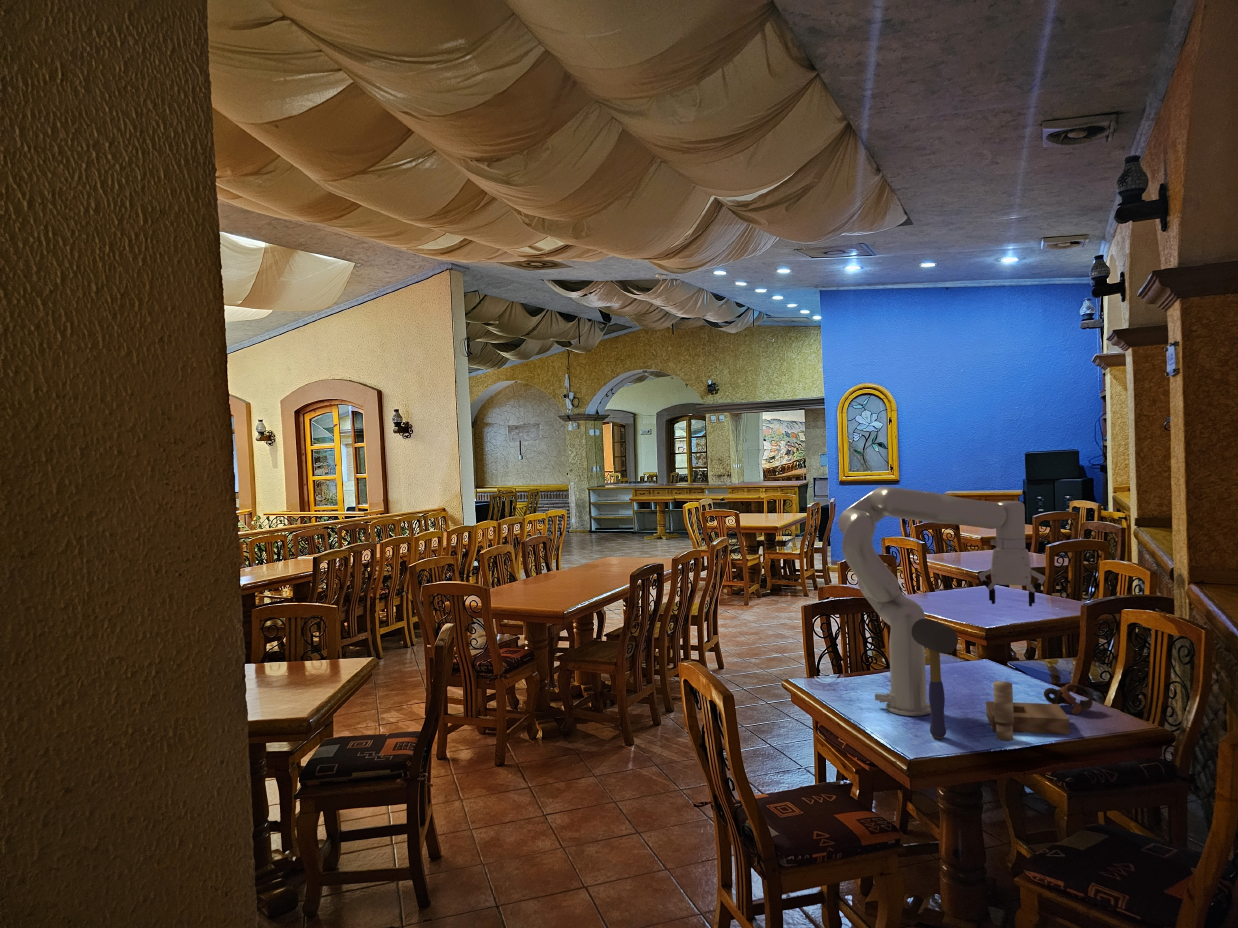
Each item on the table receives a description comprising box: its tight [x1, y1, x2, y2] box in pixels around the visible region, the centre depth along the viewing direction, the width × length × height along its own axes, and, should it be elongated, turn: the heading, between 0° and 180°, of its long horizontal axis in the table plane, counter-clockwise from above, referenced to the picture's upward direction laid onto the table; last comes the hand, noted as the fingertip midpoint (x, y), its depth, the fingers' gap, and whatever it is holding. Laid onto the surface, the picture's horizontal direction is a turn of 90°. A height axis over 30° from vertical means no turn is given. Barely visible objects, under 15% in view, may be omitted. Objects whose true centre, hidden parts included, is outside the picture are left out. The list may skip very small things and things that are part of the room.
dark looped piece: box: [1043, 683, 1094, 716], centre depth 232 cm, size 12×10×8 cm
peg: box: [992, 680, 1014, 742], centre depth 212 cm, size 5×5×14 cm
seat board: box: [985, 700, 1071, 735], centre depth 222 cm, size 18×13×4 cm
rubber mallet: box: [911, 618, 959, 740], centre depth 215 cm, size 12×8×30 cm, turn 8°
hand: (1011, 604), depth 238 cm, fingers open, 9 cm apart
